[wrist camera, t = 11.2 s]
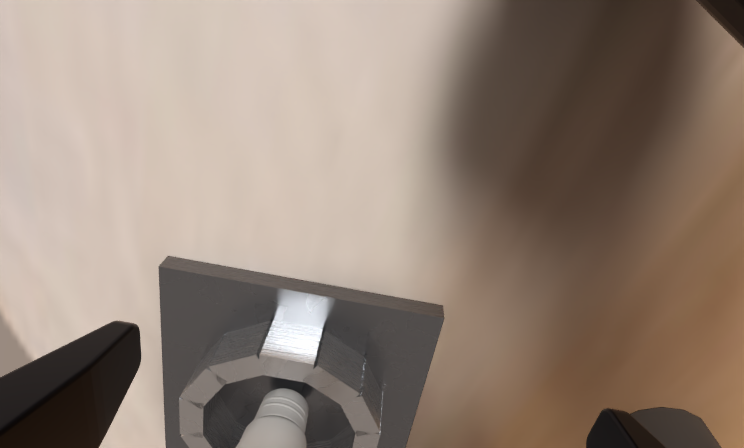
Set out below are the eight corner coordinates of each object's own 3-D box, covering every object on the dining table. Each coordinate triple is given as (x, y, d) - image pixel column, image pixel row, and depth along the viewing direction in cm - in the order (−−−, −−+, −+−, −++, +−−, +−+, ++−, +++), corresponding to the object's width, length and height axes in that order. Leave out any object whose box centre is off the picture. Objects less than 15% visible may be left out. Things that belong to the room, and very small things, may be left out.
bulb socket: (442, 305, 24) (448, 353, 21) (391, 481, 30) (389, 538, 27) (167, 256, 24) (131, 296, 21) (173, 443, 30) (146, 496, 27)
